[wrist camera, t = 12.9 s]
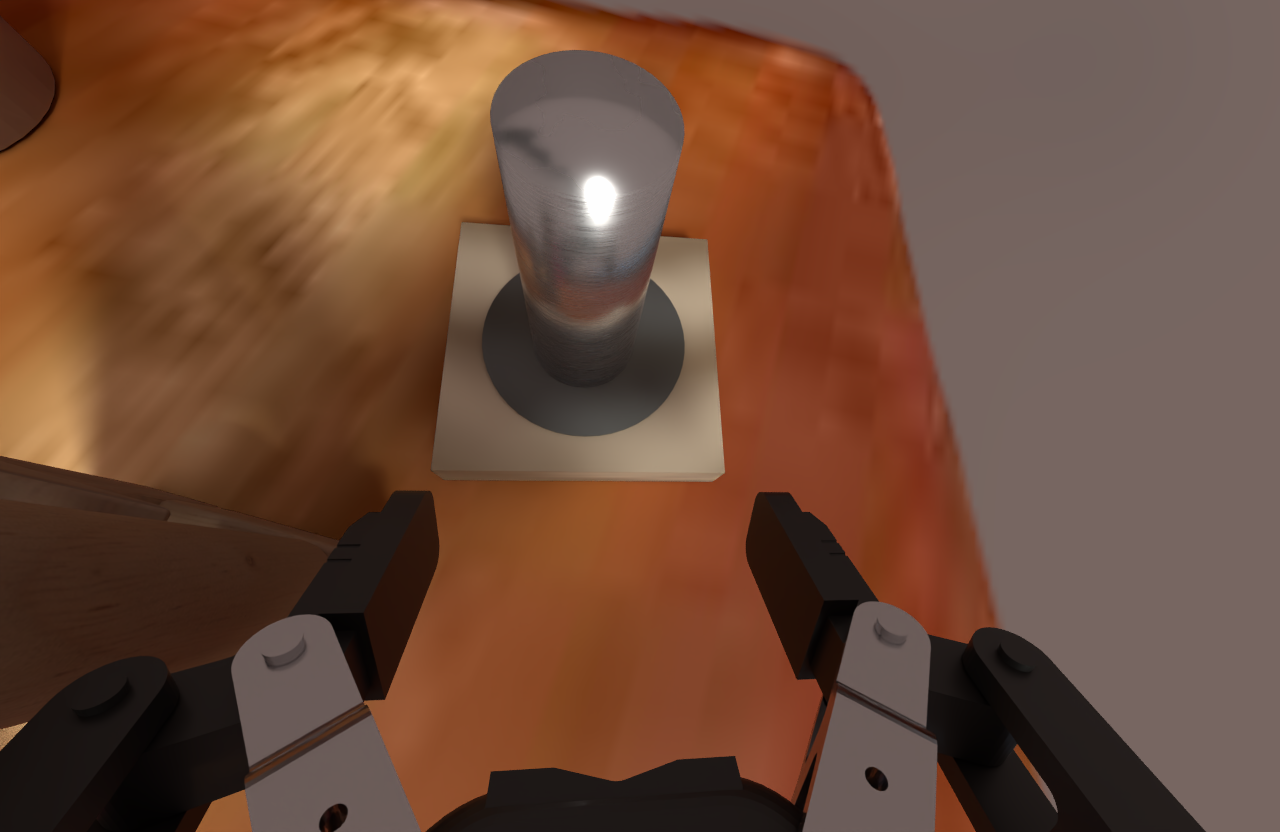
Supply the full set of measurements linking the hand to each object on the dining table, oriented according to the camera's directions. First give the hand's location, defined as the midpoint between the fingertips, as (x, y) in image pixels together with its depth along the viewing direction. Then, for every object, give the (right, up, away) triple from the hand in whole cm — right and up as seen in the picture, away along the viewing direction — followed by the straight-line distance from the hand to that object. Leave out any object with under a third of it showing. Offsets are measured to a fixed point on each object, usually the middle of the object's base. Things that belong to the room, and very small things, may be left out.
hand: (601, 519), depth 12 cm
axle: (-2, +6, +9) cm, 11 cm away
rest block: (-2, +5, +11) cm, 13 cm away
